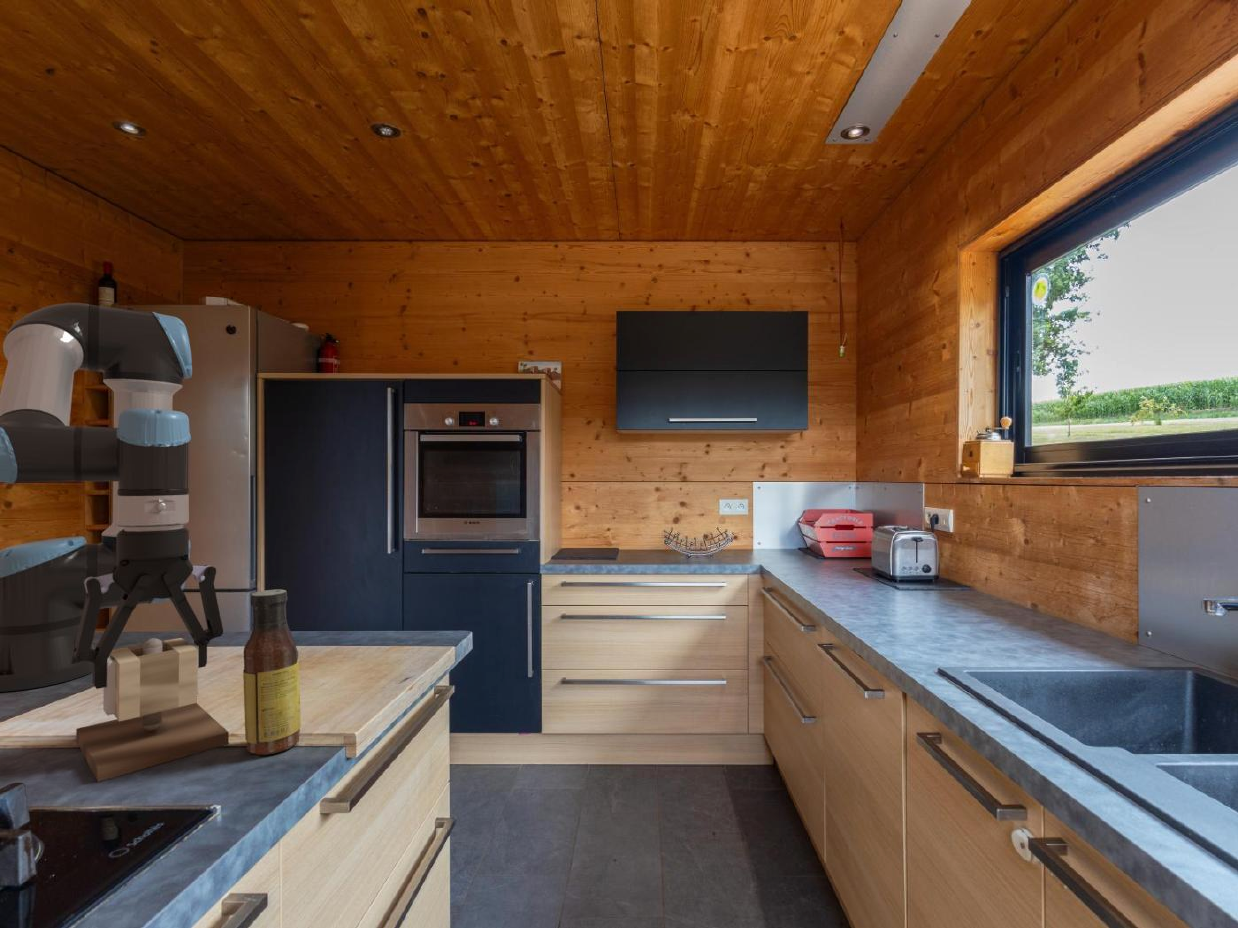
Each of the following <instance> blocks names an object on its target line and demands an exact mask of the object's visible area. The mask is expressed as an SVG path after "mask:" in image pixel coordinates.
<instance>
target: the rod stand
mask: <svg viewBox="0 0 1238 928" xmlns="http://www.w3.org/2000/svg"><path fill="white" fill-rule="evenodd" d="M161 641H162V640H161V639H160V638H155V637H151V638H149V639H147V640H146V641H145V642H144V643H143V644H144V645H143V655H148V654H154V653H159V652H162V642H161ZM75 731H76V732H75V733H76V736H75V737H76V738H75V739H77V741H76V742H77V744H78V747H79V748H80V750H81V752H82V754H83V756H84V758H85V760H86V762H87V764H88V766H89V768H90V769H91V771H92V774H93V776H94V778H95V780H97V783H100V782H103V781H106V780H109V779H113V778H117V777H119V776H122V775H127V774H130V773H133V772H137V771H141V770H143V769H148V768H150V767H153V766H157V765H160V764H161V765H162V764H163V763H164V764H165V763H167V762H171V761H174V760H177V759H181V758H185V757H188V756H191V755H195V754H197V753H203V752H205V751H209V750H212V749H215V748H219V747H222V746H226V745H229V735H230V734H229V733H230V732H229V730H227V729H226V728H225V727H224V726H223V725H222V724H220V723H219V722H218V721H216V719H215V718H214V717H212V715H210V714H209V713H208V712H207V711H206V710H205V709H204V708H202V707H201V706H200V705H199V704H198V702H197V703H194V704H190V705H186V706H181V707H177V708H173V709H169V710H165V711H161V712H157V713H152V714H148V715H144V716H140V717H136V718H132V719H128V720H123V721H118V719H117V718H115V719H112V720H107V721H102V722H99V723H94V724H90V725H87V726H82V727H78V728H76V730H75Z"/></svg>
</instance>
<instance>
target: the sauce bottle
mask: <svg viewBox="0 0 1238 928" xmlns="http://www.w3.org/2000/svg"><path fill="white" fill-rule="evenodd" d="M287 602H288V592H287V590H285V589H276V588H275V589H268V590H267V589H266V590H259V591H256V592H253V593H252V594H251V595H250V605H251V607H252V616H253V617H252V618H253V620H252V631H251V634H250V636H249V638H248V640H247V642H246V644H245V646H244V648H243V670H242V671H243V672H242V673H243V674H242V675H243V676H242V677H243V702H244V704H243V705H244V706H243V708H244V731H245V732H244V733H245V736H244V737H245V739H244V740H245V741H246V750H247V752H248V753H250V754H253V755H258V756H266V755H267V756H268V755H273V754H277V753H278V754H279V753H281V752H285V751H287V750H289V749H291V748H292V747H294V746H295V745H297V744H298V742H300V731H301V727H302V725H301V724H302V722H301V721H302V720H301V718H302V716H301V715H302V714H301V713H302V712H301V692H300V691H301V690H300V687H301V686H300V684H301V683H300V664H299V663H300V661H299V651H298V648H297V646H296V643H295V641H294V638H293V635H292V632H291V629H290V627H289V624H288V620H287Z"/></svg>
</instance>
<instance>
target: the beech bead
mask: <svg viewBox="0 0 1238 928" xmlns="http://www.w3.org/2000/svg"><path fill="white" fill-rule="evenodd" d="M161 642H162V652H159V653H154V654H148V655H143V645H144V643H143V644H138V645H137V644H136V645H132V646H131V645H130V646H126V647H120V648H115V649H114V648H113V650H112V652H111V654H110V655H109V657H112V658H113V659H114V660H115V661H116V666H115V714H113V715H114V717H115V719H118V721H123V720H128V719H132V718H136V717H140V716H144V715H148V714H152V713H157V712H161V711H165V710H169V709H173V708H177V707H181V706H186V705H190V704H194V703H197V704H198V695H197V649H196V648H195V647H193V646H192V645H191V644H189V643H190V642H188V641H186V640H185V639H183V637H179V638H173V639H167V640H161Z"/></svg>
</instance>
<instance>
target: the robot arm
mask: <svg viewBox="0 0 1238 928" xmlns="http://www.w3.org/2000/svg"><path fill="white" fill-rule="evenodd" d="M2 349H3V350H2V351H3V353H4V357H5V359H6V360H7V365H6V368H5V374H4V378H3V381H2V385H1V389H0V483H5V484H14V483H50V482H51V483H54V482H113V485H112V487H113V488H112V522H111V524H110V526H108V527H107V528H106V529H105V530H104V531H103V532H102V533H101V542H100V543H88V544H87V540H86V538H85V536H80V535H78V536H77V535H76V536H69V537H64V536H63V537H59V538H50V539H44V540H38V541H32V542H31V541H30V542H27V543H21V544H17V545H16V544H15V545H12V546H8V547H4V548H3V549H0V692H2V693H3V692H4V693H5V692H14V691H24V690H31V689H38V688H42V687H47V686H48V687H49V686H51V685H56V684H61V683H64V682H69V681H71V680H75V679H79V678H81V677H84V676H86V675H89V674H90V673H92V684H93V686H94V688H95V689H96V690H98V689H103V694H102V695H103V698H102V699H103V703H102V704H103V705H102V706H103V708H102V709H103V711H104V713H105V715H107V717H108V716H112V715H114V714H115V666H116V661H115V660H114V659H113V658H112V657H109V655H110V654H111V652H112V650H113V649H114V647H115V646H116V644H117V642H118V640H119V638H120V636H121V635H122V632H123V631H124V628H125V627H126V624H127V623H128V621H129V619H130V617H131V616H132V613H133V611H134V610H135V609H136V608H137V607H138V605H142V604H143V605H144V604H145V605H146V604H147V605H153V604H154V603H161V602H166V601H171V603H172V604H173V606H174V608H175V610H176V612H177V613H178V615H179V616H180V618H181V621H182V622H183V624H184V625H185V627H186V629H187V630H188V633H189V634H190V636H191V638H192V640H193V641H192V642H188V643H189V644H191V645H192V646H193V647H195V648H196V649H197V696H198V695H199V669H201V668H205V667H206V666H207V664H208V645H209V643H210V641H211V640H214V639H215V638H220V637H221V636H222V635H223V634H224V628H223V627H224V626H223V622H222V618H221V613H220V609H219V608H220V607H219V604H218V599H217V593H216V588H215V584H214V583H215V579H216V574H217V569H216V567H214V566H212V565H209V564H205V565H201V566H200V565H193V564H192V563H191V561H190V558H191V557H190V556H191V554H190V553H191V540H190V539H189V538H190V529H188V528H187V527H184V525H186V524H188V523H190V507H189V506H190V503H189V501H190V495H189V493H190V490H189V489H190V488H189V478H190V477H189V476H190V443H191V442H190V441H191V440H192V435H191V432H190V419H189V416H188V415H187V413H185V412H183V411H179V410H173V398H174V397H173V396H174V395H175V394H176V393H177V392H178V391H180V390H181V389H183V380H187V379H191V378H192V375H193V365H192V362H193V359H192V351H191V350H192V349H191V346H190V338H189V334H188V330H187V327H186V325H185V323H184V321H182V320H181V319H180V318H178V317H176V316H173V315H166V314H162V313H158V312H155V311H145V310H143V311H142V310H135V309H130V308H129V309H127V308H120V307H119V308H118V307H112V306H104V305H96V304H95V305H94V304H89V303H81V302H65V303H57V304H53V305H49V306H48V305H47V306H45V307H42V308H40V309H37V310H34V311H31V312H30V313H27V314H25V316H23V317H21V318H19V319H18V320H17V321H16V322H15V323H13V325H12V326H10V328H9V329H8V330H7V332H6V335H5V336H4V340H3V345H2ZM78 370H81V371H90V372H99V373H100V372H101V373H102V375H103V383H104V384H105V385H106V386H107V387H108V388H110V390H112V391H113V427H110V426H109V427H107V426H105V427H104V426H102V427H101V426H81V425H78V426H77V425H70V421H71V420H70V419H71V409H72V399H73V388H74V377H75V372H77V371H78ZM191 575H193V577H194V580H195V581H196V582H198V588H199V592H200V593H199V594H200V598H201V603H202V608H203V613H204V618H205V623H206V628H207V629H204V628H203V626H202V624H201V623H200V621H199V619H198V617H197V615H196V614H195V611H194V610H193V608H192V607H191V604H190V603H189V601H188V599H187V596H186V594H185V593H184V592H185V591H184V589H185V585H186V582H187V580H188V578H189V577H190V576H191ZM109 608H115V611H114V613H113V614H112V616H111V618H110V620H109V622H108V623H107V625H106V627H105V629H104V631H103V633H102V635H101V637H100V639H99V641H98V642H97V644H96V646H95V647H94V644H93V641H94V636H95V632H96V628H97V624H98V619H99V615H100V611H101V609H109Z"/></svg>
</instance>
